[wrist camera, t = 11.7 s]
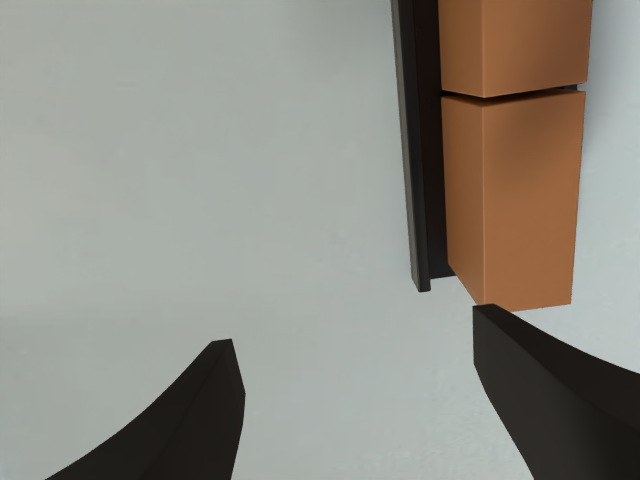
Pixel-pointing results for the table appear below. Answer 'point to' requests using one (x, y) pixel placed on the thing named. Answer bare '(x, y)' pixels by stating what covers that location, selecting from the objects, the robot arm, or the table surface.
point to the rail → (423, 135)
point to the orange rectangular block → (513, 194)
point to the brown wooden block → (513, 45)
